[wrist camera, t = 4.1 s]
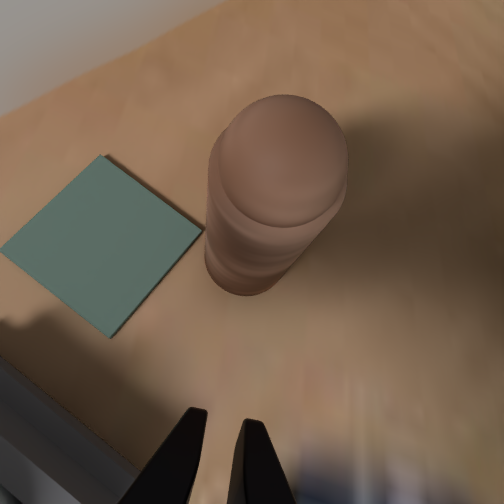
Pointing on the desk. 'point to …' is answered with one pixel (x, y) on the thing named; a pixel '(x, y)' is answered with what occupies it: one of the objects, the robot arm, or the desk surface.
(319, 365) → the desk surface
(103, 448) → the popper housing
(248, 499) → the robot arm
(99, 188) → the tile
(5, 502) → the dome
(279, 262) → the terracotta pawn
